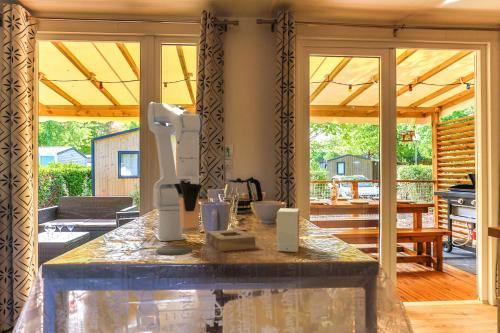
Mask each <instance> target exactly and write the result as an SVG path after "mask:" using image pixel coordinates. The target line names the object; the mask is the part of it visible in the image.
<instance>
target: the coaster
mask: <svg viewBox="0 0 500 333" xmlns="http://www.w3.org/2000/svg"><path fill="white" fill-rule="evenodd" d="M155 251H156V253H157V254H158V255H162V256H178V255H185V254H188V253H191V252H192V247H191V246H190V245H189V246H188V245H180V244H179V245H173V244H172V245H165V246H161V247H159V248H156V249H155Z"/></svg>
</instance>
